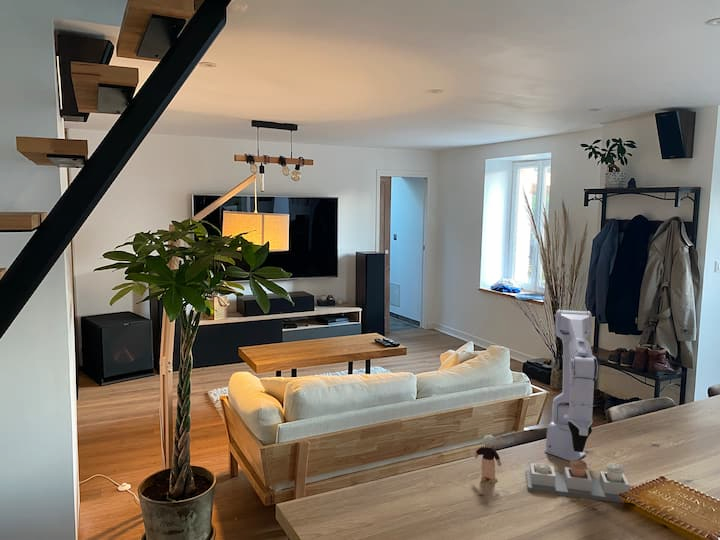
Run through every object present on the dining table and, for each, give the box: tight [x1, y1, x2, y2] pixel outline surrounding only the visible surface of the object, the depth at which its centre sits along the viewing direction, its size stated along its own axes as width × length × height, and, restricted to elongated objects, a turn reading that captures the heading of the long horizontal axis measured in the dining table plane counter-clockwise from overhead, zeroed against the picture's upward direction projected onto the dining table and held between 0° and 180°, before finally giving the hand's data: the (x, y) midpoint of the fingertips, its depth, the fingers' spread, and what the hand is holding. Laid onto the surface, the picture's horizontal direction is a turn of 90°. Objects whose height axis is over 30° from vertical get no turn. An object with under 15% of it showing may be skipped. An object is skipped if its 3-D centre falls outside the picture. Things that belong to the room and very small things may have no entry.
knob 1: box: [535, 462, 551, 474], centre depth 147 cm, size 4×4×4 cm
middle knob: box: [570, 459, 588, 478], centre depth 145 cm, size 4×4×4 cm
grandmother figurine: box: [473, 434, 502, 484], centre depth 149 cm, size 8×4×13 cm, turn 65°
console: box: [525, 462, 631, 504], centre depth 145 cm, size 26×10×4 cm, turn 76°
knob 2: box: [606, 463, 624, 483], centre depth 142 cm, size 4×4×4 cm
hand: (578, 450), depth 144 cm, fingers closed
